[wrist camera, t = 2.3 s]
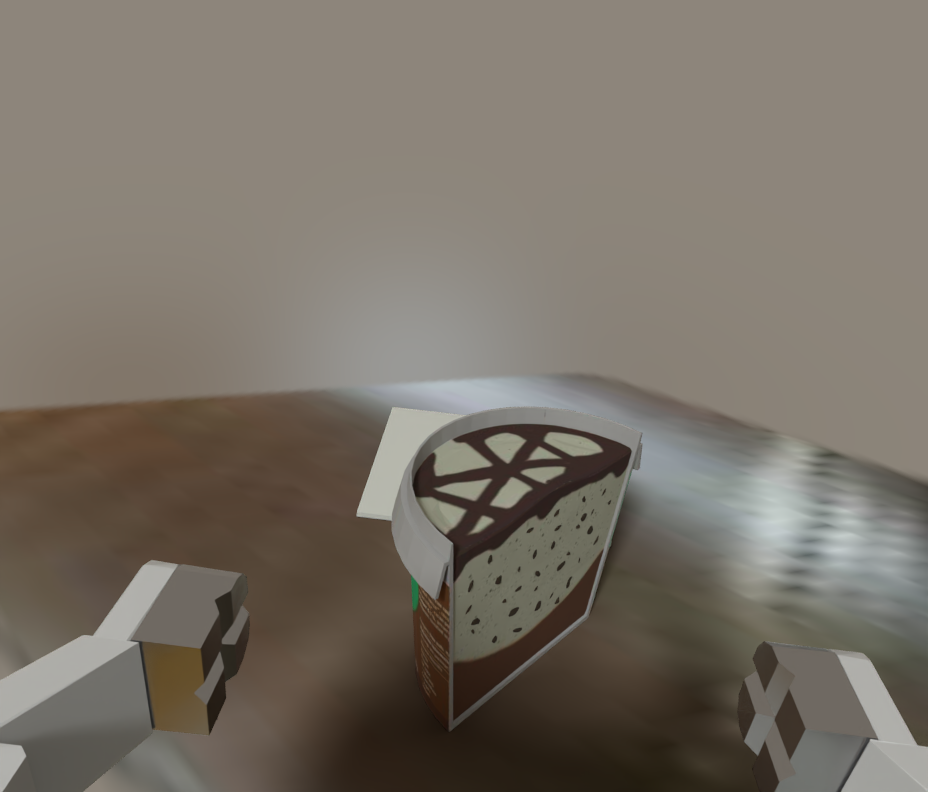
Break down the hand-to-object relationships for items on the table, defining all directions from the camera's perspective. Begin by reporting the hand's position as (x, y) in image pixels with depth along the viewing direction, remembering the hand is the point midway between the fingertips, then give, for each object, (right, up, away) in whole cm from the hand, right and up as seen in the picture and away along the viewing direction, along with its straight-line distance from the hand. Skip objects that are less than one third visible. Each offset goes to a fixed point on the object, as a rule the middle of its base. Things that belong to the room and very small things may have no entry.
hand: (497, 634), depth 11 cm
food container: (0, -7, +22) cm, 23 cm away
